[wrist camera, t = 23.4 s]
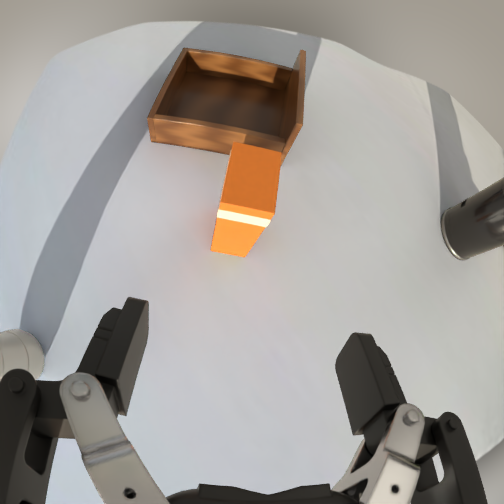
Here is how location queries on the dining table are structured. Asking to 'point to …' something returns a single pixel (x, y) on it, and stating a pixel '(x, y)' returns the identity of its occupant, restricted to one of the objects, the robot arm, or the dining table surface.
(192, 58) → the drawer
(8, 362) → the plastic bottle
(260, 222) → the packet
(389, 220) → the dining table surface
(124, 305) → the robot arm
